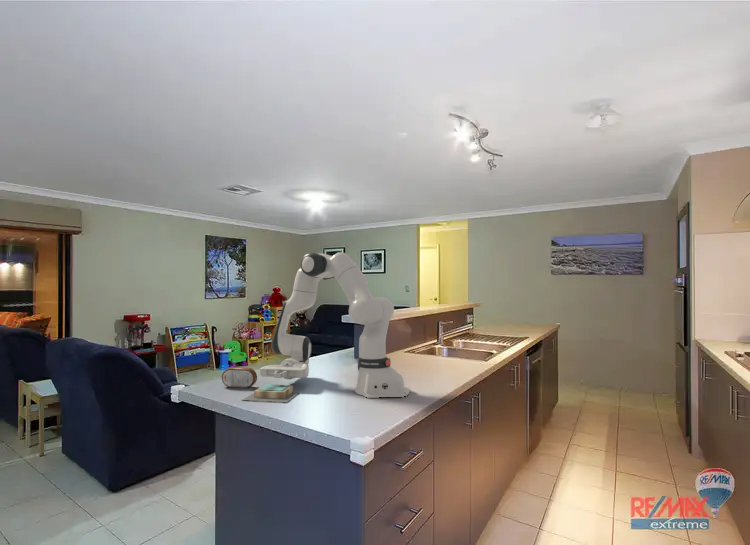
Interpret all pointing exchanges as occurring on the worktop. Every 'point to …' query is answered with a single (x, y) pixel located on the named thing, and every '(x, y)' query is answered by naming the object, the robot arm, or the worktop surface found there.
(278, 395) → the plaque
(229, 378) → the bluetooth speaker
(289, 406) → the worktop surface
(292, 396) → the mat
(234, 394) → the worktop surface
